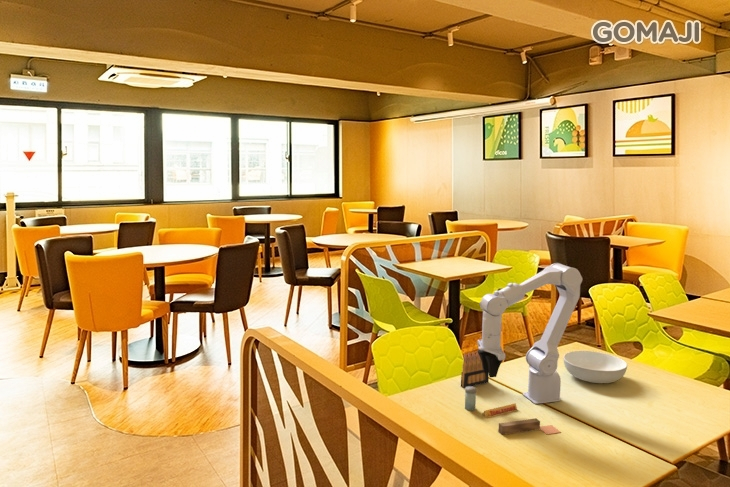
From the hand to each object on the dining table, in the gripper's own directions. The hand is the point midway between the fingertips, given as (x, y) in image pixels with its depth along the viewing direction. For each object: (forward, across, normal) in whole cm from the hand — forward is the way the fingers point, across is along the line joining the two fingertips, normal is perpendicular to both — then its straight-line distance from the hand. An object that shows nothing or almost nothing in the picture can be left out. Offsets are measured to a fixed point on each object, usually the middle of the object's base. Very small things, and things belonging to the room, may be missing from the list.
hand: (489, 374), depth 178 cm
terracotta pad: (+9, +21, +8) cm, 24 cm away
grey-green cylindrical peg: (+9, +2, -8) cm, 12 cm away
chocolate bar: (+10, +7, 0) cm, 12 cm away
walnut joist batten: (+9, +19, 0) cm, 21 cm away
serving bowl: (+10, -9, +46) cm, 47 cm away
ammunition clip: (+10, -15, +2) cm, 18 cm away
